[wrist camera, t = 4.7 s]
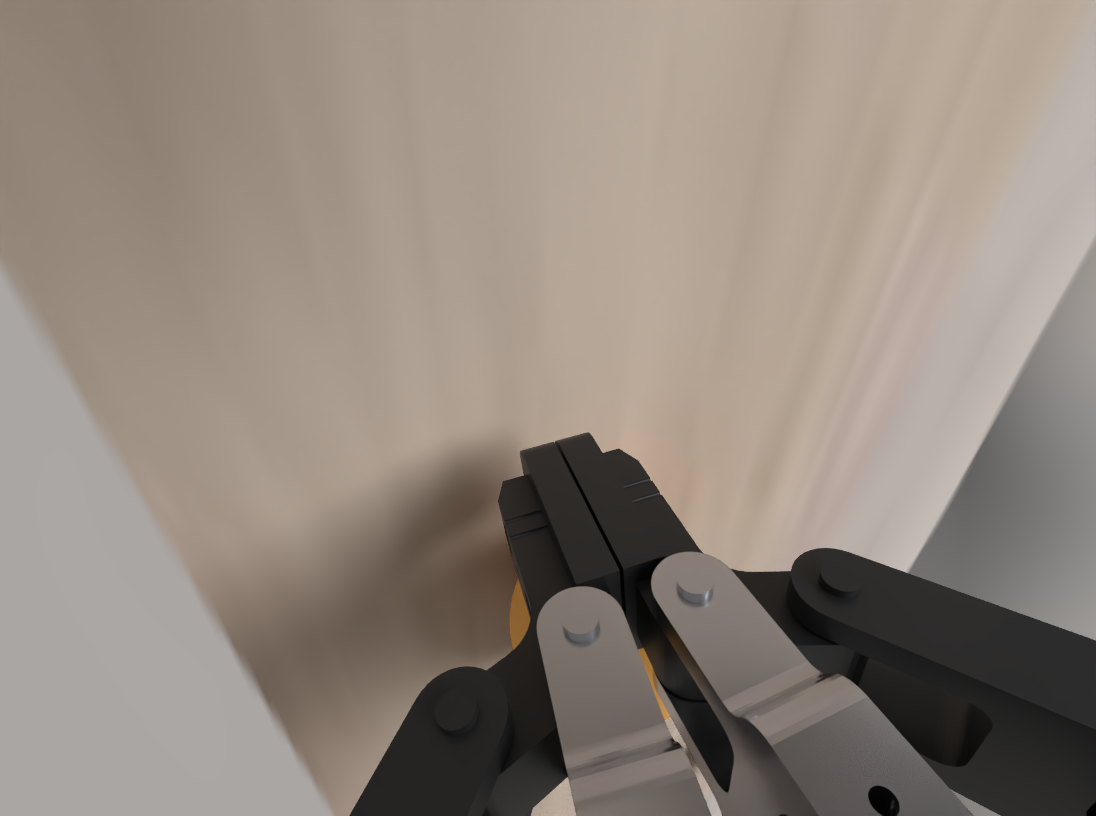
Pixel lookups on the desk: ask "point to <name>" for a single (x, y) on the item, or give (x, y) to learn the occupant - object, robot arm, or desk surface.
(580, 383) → the desk surface
